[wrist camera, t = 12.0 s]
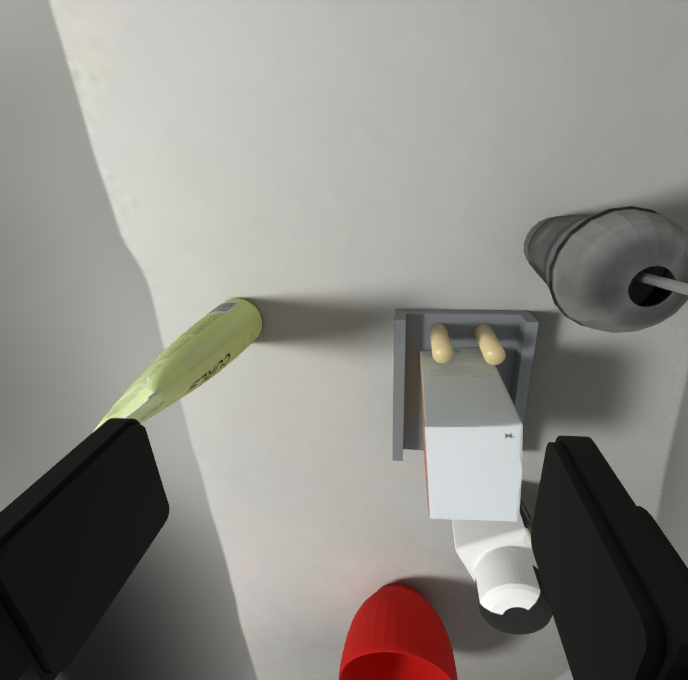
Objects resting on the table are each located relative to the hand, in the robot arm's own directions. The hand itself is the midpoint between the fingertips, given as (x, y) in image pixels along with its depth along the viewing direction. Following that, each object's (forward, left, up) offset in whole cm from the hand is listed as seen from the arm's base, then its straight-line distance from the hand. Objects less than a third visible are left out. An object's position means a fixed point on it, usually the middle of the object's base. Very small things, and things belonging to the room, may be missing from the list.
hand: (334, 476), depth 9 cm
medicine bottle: (+28, +12, -30) cm, 43 cm away
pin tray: (+12, +7, -30) cm, 33 cm away
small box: (+12, +6, -29) cm, 32 cm away
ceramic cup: (+46, +1, -30) cm, 55 cm away
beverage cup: (-1, +14, -30) cm, 33 cm away
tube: (+6, -15, -30) cm, 34 cm away
